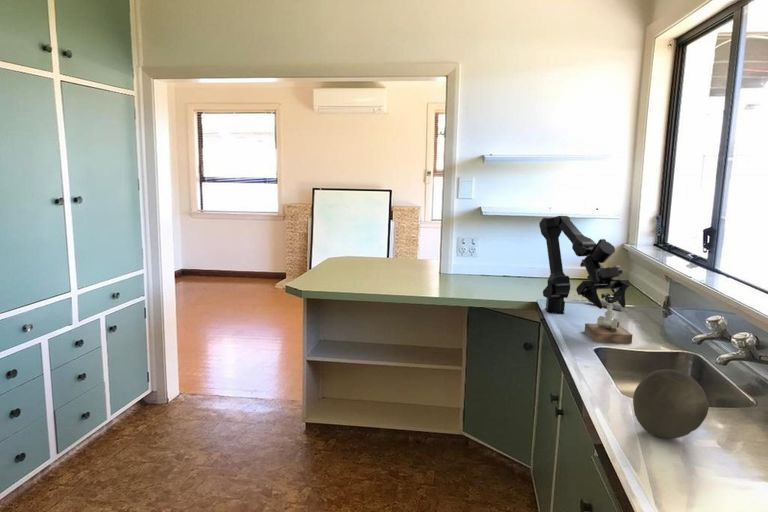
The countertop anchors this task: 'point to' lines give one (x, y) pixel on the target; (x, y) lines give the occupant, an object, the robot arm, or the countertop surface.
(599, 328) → the walnut plinth
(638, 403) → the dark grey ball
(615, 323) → the valve
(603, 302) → the kitchen whisk
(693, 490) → the countertop surface
